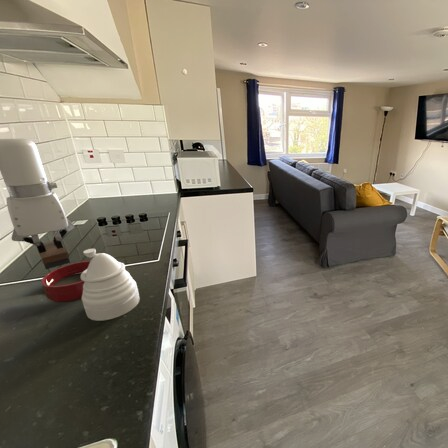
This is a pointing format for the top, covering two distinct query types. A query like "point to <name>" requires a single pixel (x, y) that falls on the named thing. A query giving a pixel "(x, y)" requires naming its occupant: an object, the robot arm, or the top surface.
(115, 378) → the top surface
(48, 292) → the bowl
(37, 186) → the robot arm
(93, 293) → the honey pot
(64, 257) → the t-shaped block
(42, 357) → the top surface
